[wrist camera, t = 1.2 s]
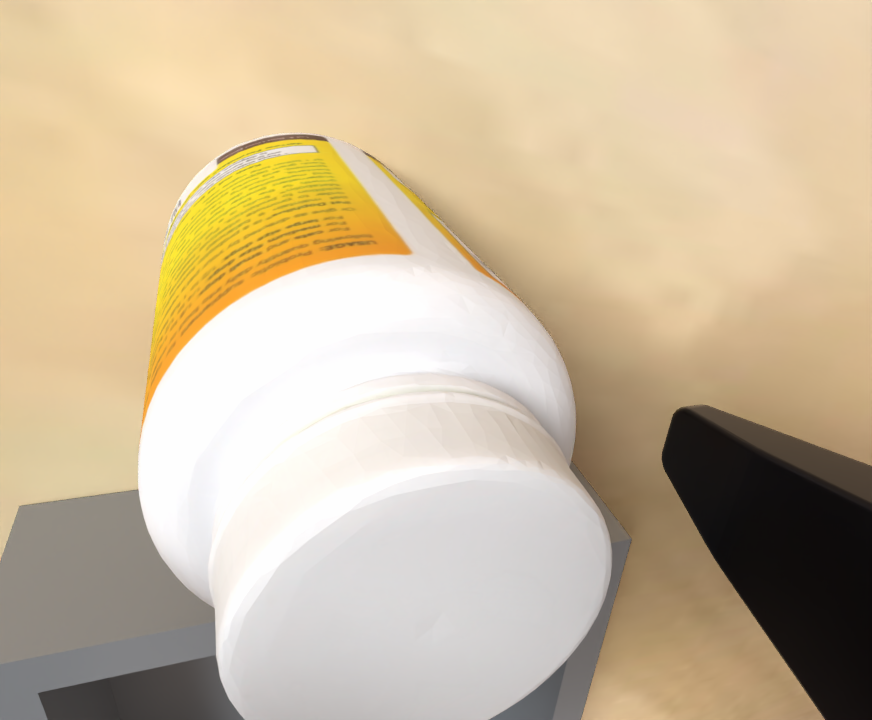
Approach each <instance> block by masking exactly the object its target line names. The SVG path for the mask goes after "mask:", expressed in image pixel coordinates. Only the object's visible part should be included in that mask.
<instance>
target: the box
mask: <svg viewBox="0 0 872 720" xmlns="http://www.w3.org/2000/svg"><path fill="white" fill-rule="evenodd" d="M569 468H570V469H571V471H572V472H573V473H574V475H575V476H576V477H577V479H578V480H579V481H580V483H581V484H582V485H583V487H584V488H585V489H586V491H587V492H588V493H589V495H590V496H591V498H592V499H593V501H594V502H595V503H596V505H597V506H598V508H599V509H600V511H601V513H602V515H603V518H604V520H605V523H606V526H607V529H608V532H609V534H610V541H611V547H612V569H611V578H610V582H609V586H608V590H607V593H606V597H605V600H604V602H603V605H602V607H601V609H600V611H599V614H598V616H597V618H596V619H595V621H594V623H593V625H592V626H591V628H590V630H589V632H588V633H587V635H586V636H585V638H584V639H583V640H582V641H581V643H580V644H579V645H578V647H577V648H576V649H575V651H574V652H573V653H572V654H571V655H570V656H569V658H568V659H567V660H566V661H565V662H564V663H563V664H562V665H561V666H560V667H559V668H558V669H557V670H556V671H555V672H554V673H553V674H552V675H551V676H550V677H549V678H548V679H547V680H546V681H544V682H543V683H542V684H541V685H540V686H539V687H538V688H536V689H535V690H534V691H532V692H531V693H530V694H528V695H527V696H526V697H524V698H523V699H522V700H520V701H519V702H517V703H516V704H514V705H512V706H511V707H509V708H508V709H506V710H505V711H503V712H501V713H500V714H498V715H496V716H494V717H493V718H491V719H489V720H581V717H582V714H583V710H584V707H585V703H586V699H587V696H588V692H589V689H590V685H591V682H592V678H593V675H594V671H595V668H596V664H597V660H598V657H599V653H600V650H601V646H602V643H603V639H604V636H605V632H606V629H607V625H608V621H609V618H610V614H611V611H612V607H613V604H614V600H615V597H616V593H617V590H618V586H619V583H620V579H621V575H622V572H623V568H624V565H625V561H626V558H627V554H628V551H629V547H630V544H631V540H632V539H631V537H630V536H629V535H628V533H627V532H626V531H625V529H624V528H623V527H622V526H621V524H620V523H619V522H618V520H617V519H616V518H615V516H614V515H613V514H612V513H611V511H610V510H609V509H608V507H607V506H606V505H605V503H604V502H603V501H602V500H601V498H600V497H599V496H598V494H597V493H596V492H595V490H594V489H593V488H592V487H591V485H590V484H589V483H588V481H587V480H586V479H585V477H584V476H583V475H582V474H581V472H580V471H579V470H578V468H577V467H576V466H575V465H574V463H573V462H572V461H571V463H570V466H569ZM0 720H245V719H244V718H243V717H242V716H241V715H240V714H239V712H238V711H237V710H236V708H235V707H234V705H233V704H232V703H231V701H230V700H229V698H228V696H227V694H226V692H225V689H224V687H223V684H222V682H221V679H220V675H219V669H218V663H217V658H216V632H215V608H214V607H212V606H210V605H209V604H207V603H206V602H204V601H202V600H201V599H200V598H199V597H197V596H196V595H195V594H194V593H193V592H191V591H190V590H189V589H188V588H186V586H185V585H184V584H183V583H182V582H181V581H180V580H179V579H178V578H177V577H176V576H175V574H174V573H173V572H172V571H171V569H170V568H169V567H168V565H167V564H166V563H165V562H164V560H163V559H162V558H161V556H160V554H159V552H158V550H157V548H156V547H155V545H154V543H153V541H152V538H151V536H150V534H149V532H148V529H147V526H146V523H145V520H144V516H143V512H142V508H141V503H140V497H139V490H133V491H126V492H119V493H112V494H104V495H97V496H90V497H83V498H75V499H68V500H61V501H54V502H47V503H39V504H32V505H25V506H19V509H18V512H17V515H16V518H15V521H14V523H13V526H12V529H11V532H10V535H9V538H8V541H7V544H6V547H5V550H4V552H3V555H2V558H1V561H0Z"/></svg>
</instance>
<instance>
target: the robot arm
mask: <svg viewBox="0 0 872 720" xmlns="http://www.w3.org/2000/svg"><path fill="white" fill-rule="evenodd" d="M662 463H663V467H664V470H665V472H666V474H667V475H668V477H669V479H670V481H671V482H672V484H673V486H674V488H675V490H676V491H677V493H678V495H679V497H680V499H681V500H682V502H683V504H684V506H685V508H686V509H687V511H688V513H689V515H690V517H691V518H692V520H693V522H694V524H695V526H696V527H697V529H698V531H699V533H700V534H701V536H702V538H703V540H704V542H705V543H706V545H707V547H708V549H709V550H710V552H711V554H712V555H713V557H714V559H715V560H716V562H717V563H718V565H719V566H720V568H721V569H722V571H723V572H724V574H725V575H726V577H727V578H728V580H729V581H730V582H731V584H732V585H733V587H734V588H735V590H736V591H737V593H738V594H739V596H740V597H741V598H742V600H743V601H744V603H745V604H746V606H747V607H748V609H749V610H750V611H751V613H752V614H753V616H754V617H755V619H756V620H757V622H758V623H759V625H760V626H761V627H762V629H763V630H764V632H765V633H766V635H767V636H768V638H769V639H770V641H771V642H772V643H773V645H774V646H775V648H776V649H777V651H778V652H779V654H780V655H781V656H782V658H783V659H784V661H785V662H786V664H787V665H788V667H789V668H790V670H791V671H792V672H793V674H794V675H795V677H796V678H797V680H798V681H799V683H800V684H801V686H802V687H803V688H804V690H805V691H806V693H807V694H808V696H809V697H810V699H811V700H812V701H813V703H814V704H815V706H816V707H817V709H818V710H819V712H820V713H821V715H822V716H823V717H824V719H825V720H872V466H870V465H867V464H864V463H862V462H859V461H856V460H854V459H851V458H848V457H846V456H843V455H840V454H837V453H835V452H832V451H829V450H827V449H824V448H821V447H818V446H816V445H813V444H810V443H808V442H805V441H802V440H800V439H797V438H794V437H791V436H789V435H786V434H783V433H781V432H778V431H775V430H772V429H770V428H767V427H764V426H762V425H759V424H756V423H754V422H751V421H748V420H745V419H743V418H740V417H737V416H735V415H732V414H729V413H726V412H724V411H721V410H718V409H716V408H713V407H710V406H707V405H694V406H687V407H681V408H679V409H677V410H676V412H675V413H674V414H673V417H672V420H671V423H670V427H669V430H668V434H667V437H666V441H665V444H664V448H663V451H662Z"/></svg>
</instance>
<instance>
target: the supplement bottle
mask: <svg viewBox="0 0 872 720" xmlns="http://www.w3.org/2000/svg"><path fill="white" fill-rule="evenodd" d="M575 435H576V406H575V400H574V395H573V389H572V385H571V381H570V377H569V374H568V371H567V368H566V366H565V363H564V361H563V359H562V356H561V354H560V352H559V350H558V348H557V346H556V344H555V343H554V341H553V339H552V338H551V336H550V335H549V333H548V332H547V331H546V329H545V328H544V327H543V325H542V324H541V323H540V322H539V320H538V319H537V318H536V317H535V316H534V314H533V313H532V312H531V311H530V310H529V309H528V307H527V306H526V305H525V304H524V303H523V302H522V301H521V300H520V299H519V298H518V297H517V296H516V295H515V294H514V293H513V292H512V291H511V290H510V289H509V288H508V287H507V286H506V285H505V284H504V283H503V282H502V281H501V280H500V279H499V278H498V277H497V276H496V275H495V274H494V273H493V272H492V271H491V270H490V269H489V268H488V267H487V266H486V265H485V264H484V263H483V262H482V261H481V260H480V259H479V258H478V257H477V256H476V255H475V254H474V253H473V252H472V251H471V250H470V249H469V248H468V247H467V246H466V245H465V244H464V243H463V242H462V241H461V240H460V239H459V238H458V237H457V236H456V235H455V234H454V233H453V232H452V231H451V230H450V229H449V228H448V227H447V226H446V225H445V224H444V223H443V222H442V220H441V219H440V218H439V217H438V216H436V215H435V214H434V212H433V211H432V210H431V209H429V208H428V207H427V206H426V205H425V204H424V203H423V202H422V201H421V200H420V199H419V198H418V197H417V196H416V195H415V194H414V193H413V192H412V191H411V189H409V188H408V187H407V186H406V185H405V184H404V183H403V182H402V181H400V180H399V179H398V178H397V177H396V176H395V174H394V173H393V172H392V171H390V170H389V169H388V168H387V167H385V166H384V165H383V164H382V163H381V162H379V161H378V160H377V159H375V158H374V157H373V156H371V155H369V154H368V153H366V152H364V151H363V150H361V149H359V148H357V147H355V146H353V145H351V144H349V143H346V142H344V141H342V140H338V139H335V138H332V137H327V136H323V135H318V134H310V133H281V134H273V135H268V136H263V137H260V138H257V139H253V140H250V141H247V142H244V143H241V144H239V145H237V146H234V147H232V148H230V149H229V150H227V151H225V152H224V153H222V154H220V155H219V156H218V157H216V158H215V159H214V160H212V161H211V162H210V163H208V164H207V165H206V166H205V167H204V168H203V169H202V170H201V171H200V172H199V173H198V174H197V175H196V176H195V177H194V178H193V179H192V181H191V182H190V183H189V185H188V186H187V187H186V189H185V190H184V192H183V193H182V195H181V196H180V198H179V200H178V202H177V204H176V206H175V208H174V211H173V213H172V215H171V218H170V221H169V224H168V228H167V231H166V235H165V240H164V247H163V254H162V261H161V272H160V279H159V287H158V295H157V303H156V309H155V320H154V326H153V336H152V344H151V354H150V361H149V369H148V378H147V386H146V394H145V402H144V411H143V420H142V428H141V436H140V443H139V457H138V487H139V497H140V503H141V508H142V512H143V516H144V520H145V523H146V526H147V529H148V532H149V534H150V536H151V538H152V541H153V543H154V545H155V547H156V548H157V550H158V552H159V554H160V556H161V558H162V559H163V560H164V562H165V563H166V564H167V565H168V567H169V568H170V569H171V571H172V572H173V573H174V574H175V576H176V577H177V578H178V579H179V580H180V581H181V582H182V583H183V584H184V585H185V586H186V588H188V589H189V590H190V591H191V592H193V593H194V594H195V595H196V596H197V597H199V598H200V599H201V600H202V601H204V602H206V603H207V604H209V605H210V606H212V607H214V608H215V632H216V658H217V663H218V669H219V675H220V679H221V682H222V684H223V687H224V689H225V692H226V694H227V696H228V698H229V700H230V701H231V703H232V704H233V705H234V707H235V708H236V710H237V711H238V712H239V714H240V715H241V716H242V717H243V718H244V719H245V720H489V719H491V718H493V717H494V716H496V715H498V714H500V713H501V712H503V711H505V710H506V709H508V708H509V707H511V706H512V705H514V704H516V703H517V702H519V701H520V700H522V699H523V698H524V697H526V696H527V695H528V694H530V693H531V692H532V691H534V690H535V689H536V688H538V687H539V686H540V685H541V684H542V683H543V682H544V681H546V680H547V679H548V678H549V677H550V676H551V675H552V674H553V673H554V672H555V671H556V670H557V669H558V668H559V667H560V666H561V665H562V664H563V663H564V662H565V661H566V660H567V659H568V658H569V656H570V655H571V654H572V653H573V652H574V651H575V649H576V648H577V647H578V645H579V644H580V643H581V641H582V640H583V639H584V638H585V636H586V635H587V633H588V632H589V630H590V628H591V626H592V625H593V623H594V621H595V619H596V618H597V616H598V614H599V611H600V609H601V607H602V605H603V602H604V600H605V597H606V593H607V590H608V586H609V582H610V578H611V569H612V547H611V541H610V534H609V532H608V529H607V526H606V523H605V520H604V518H603V515H602V513H601V511H600V509H599V508H598V506H597V505H596V503H595V502H594V501H593V499H592V498H591V496H590V495H589V493H588V492H587V491H586V489H585V488H584V487H583V485H582V484H581V483H580V481H579V480H578V479H577V477H576V476H575V475H574V473H573V472H572V471H571V469H570V468H569V466H570V463H571V459H572V454H573V450H574V443H575Z"/></svg>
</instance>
